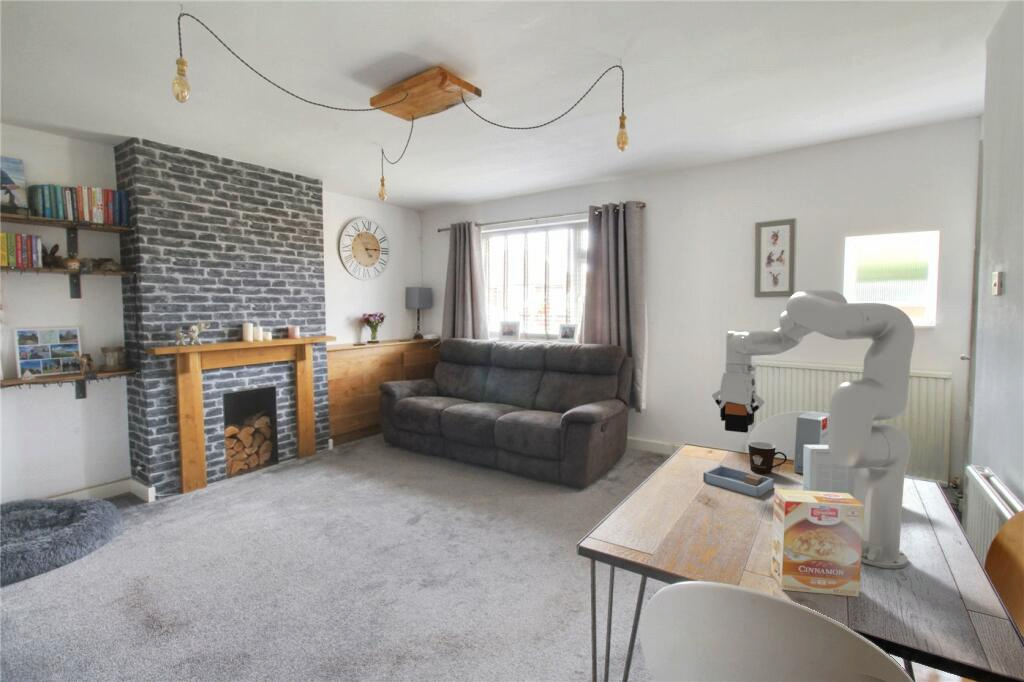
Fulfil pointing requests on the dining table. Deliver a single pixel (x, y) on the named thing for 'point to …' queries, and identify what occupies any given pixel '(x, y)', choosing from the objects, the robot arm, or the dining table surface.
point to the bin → (736, 480)
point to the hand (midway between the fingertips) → (736, 422)
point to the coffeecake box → (817, 542)
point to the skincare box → (824, 471)
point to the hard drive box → (809, 434)
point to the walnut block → (753, 480)
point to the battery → (735, 417)
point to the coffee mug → (762, 457)
